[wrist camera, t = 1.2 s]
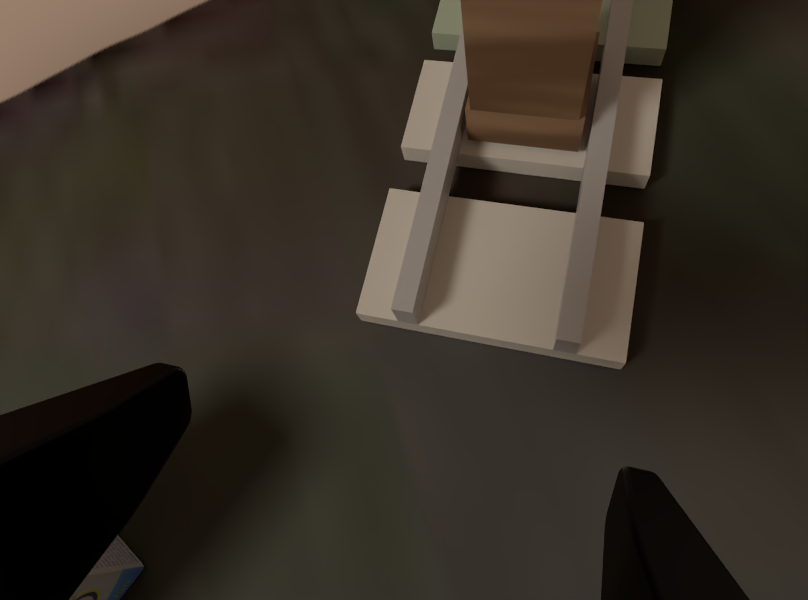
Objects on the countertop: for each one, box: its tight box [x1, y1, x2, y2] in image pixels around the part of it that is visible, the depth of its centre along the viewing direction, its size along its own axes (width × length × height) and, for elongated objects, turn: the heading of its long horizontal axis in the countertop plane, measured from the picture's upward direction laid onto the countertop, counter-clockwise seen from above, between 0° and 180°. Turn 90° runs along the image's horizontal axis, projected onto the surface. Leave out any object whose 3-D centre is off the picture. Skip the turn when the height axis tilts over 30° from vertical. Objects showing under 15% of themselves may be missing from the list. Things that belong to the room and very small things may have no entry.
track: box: [356, 0, 673, 370], centre depth 24 cm, size 20×10×4 cm, turn 166°
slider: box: [460, 0, 603, 152], centre depth 19 cm, size 4×4×10 cm
